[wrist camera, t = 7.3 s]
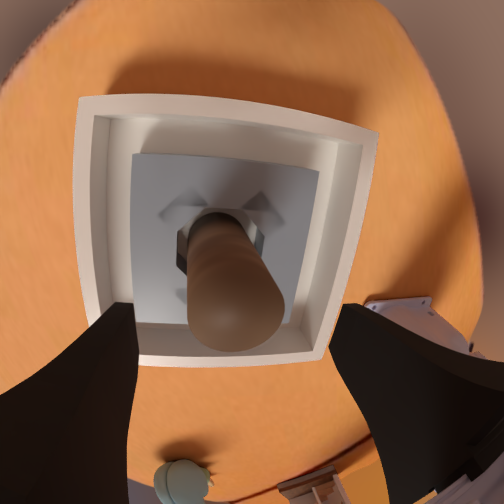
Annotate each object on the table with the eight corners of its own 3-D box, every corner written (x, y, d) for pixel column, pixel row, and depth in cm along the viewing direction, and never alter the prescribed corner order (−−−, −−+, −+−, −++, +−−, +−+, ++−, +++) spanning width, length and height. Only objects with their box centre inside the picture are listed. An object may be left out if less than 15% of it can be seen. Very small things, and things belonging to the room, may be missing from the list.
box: (348, 131, 17) (378, 132, 13) (305, 332, 22) (321, 359, 19) (100, 104, 13) (79, 97, 10) (107, 330, 19) (98, 361, 15)
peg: (248, 214, 17) (293, 272, 10) (241, 267, 18) (275, 350, 11) (189, 210, 16) (188, 269, 9) (186, 265, 17) (187, 352, 10)
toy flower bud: (201, 522, 25) (147, 514, 19) (192, 477, 32) (142, 458, 27) (242, 515, 25) (194, 510, 19) (229, 468, 32) (184, 448, 27)
